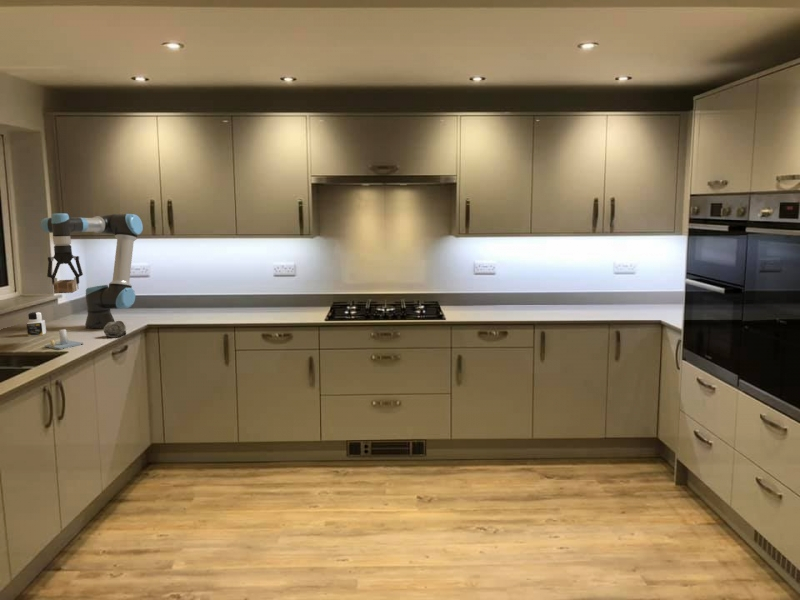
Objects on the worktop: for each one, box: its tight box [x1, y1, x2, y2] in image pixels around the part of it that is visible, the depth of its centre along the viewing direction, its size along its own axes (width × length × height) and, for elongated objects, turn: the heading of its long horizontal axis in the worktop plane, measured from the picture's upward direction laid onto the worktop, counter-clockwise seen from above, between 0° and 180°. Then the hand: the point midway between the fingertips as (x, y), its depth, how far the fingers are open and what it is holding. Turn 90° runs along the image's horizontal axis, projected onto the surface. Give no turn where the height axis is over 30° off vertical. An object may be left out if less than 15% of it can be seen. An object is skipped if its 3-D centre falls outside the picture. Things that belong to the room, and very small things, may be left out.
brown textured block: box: [52, 279, 79, 294], centre depth 303 cm, size 17×8×5 cm, turn 19°
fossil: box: [103, 320, 127, 339], centre depth 318 cm, size 11×9×10 cm
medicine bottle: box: [26, 311, 47, 337], centre depth 326 cm, size 7×7×12 cm
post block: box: [44, 329, 84, 350], centre depth 297 cm, size 12×12×8 cm
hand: (66, 290), depth 303 cm, fingers closed on brown textured block, 8 cm apart
